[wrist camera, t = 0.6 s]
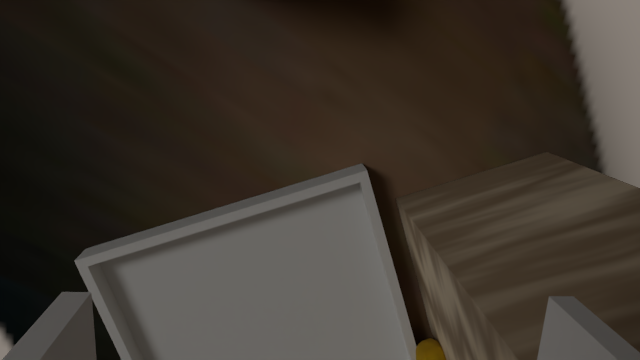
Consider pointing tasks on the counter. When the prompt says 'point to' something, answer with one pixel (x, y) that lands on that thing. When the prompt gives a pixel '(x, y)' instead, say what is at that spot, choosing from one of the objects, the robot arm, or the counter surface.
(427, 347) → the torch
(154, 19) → the counter surface
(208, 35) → the counter surface
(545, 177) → the stand
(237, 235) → the tray
